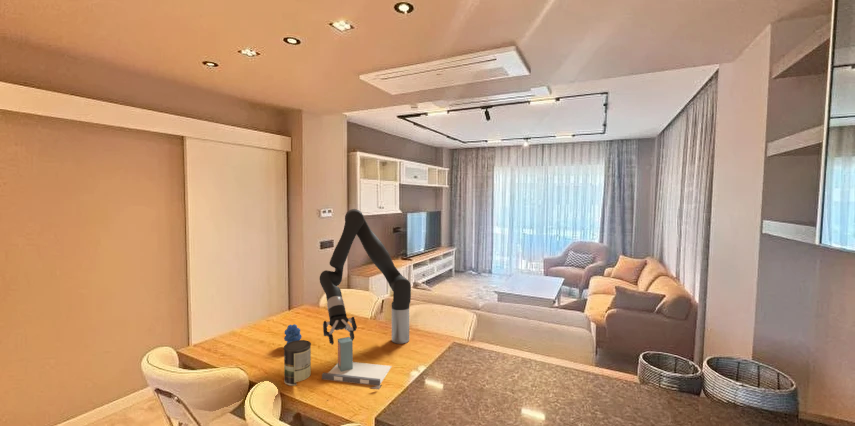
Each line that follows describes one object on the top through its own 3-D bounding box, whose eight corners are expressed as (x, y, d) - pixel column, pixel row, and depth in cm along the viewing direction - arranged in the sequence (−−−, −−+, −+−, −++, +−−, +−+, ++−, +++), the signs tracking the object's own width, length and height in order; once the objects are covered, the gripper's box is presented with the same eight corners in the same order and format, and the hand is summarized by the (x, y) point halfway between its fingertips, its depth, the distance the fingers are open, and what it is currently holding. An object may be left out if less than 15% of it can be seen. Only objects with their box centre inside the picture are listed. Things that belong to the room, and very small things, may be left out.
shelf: (340, 364, 152) (340, 356, 152) (391, 369, 147) (391, 361, 147) (321, 382, 136) (321, 374, 136) (379, 389, 131) (379, 380, 131)
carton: (349, 363, 149) (349, 336, 148) (352, 368, 144) (352, 340, 144) (337, 366, 146) (337, 338, 146) (340, 371, 142) (340, 343, 141)
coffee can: (280, 386, 133) (279, 351, 133) (288, 373, 143) (288, 340, 143) (307, 385, 134) (307, 350, 133) (313, 372, 144) (313, 339, 144)
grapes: (308, 347, 169) (307, 323, 168) (296, 352, 163) (296, 327, 163) (292, 342, 175) (292, 319, 174) (280, 347, 169) (280, 323, 169)
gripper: (321, 306, 152) (327, 341, 142) (353, 302, 158) (360, 335, 149) (319, 314, 157) (324, 348, 147) (350, 310, 163) (356, 342, 154)
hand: (342, 342), depth 148 cm, fingers open, 8 cm apart
